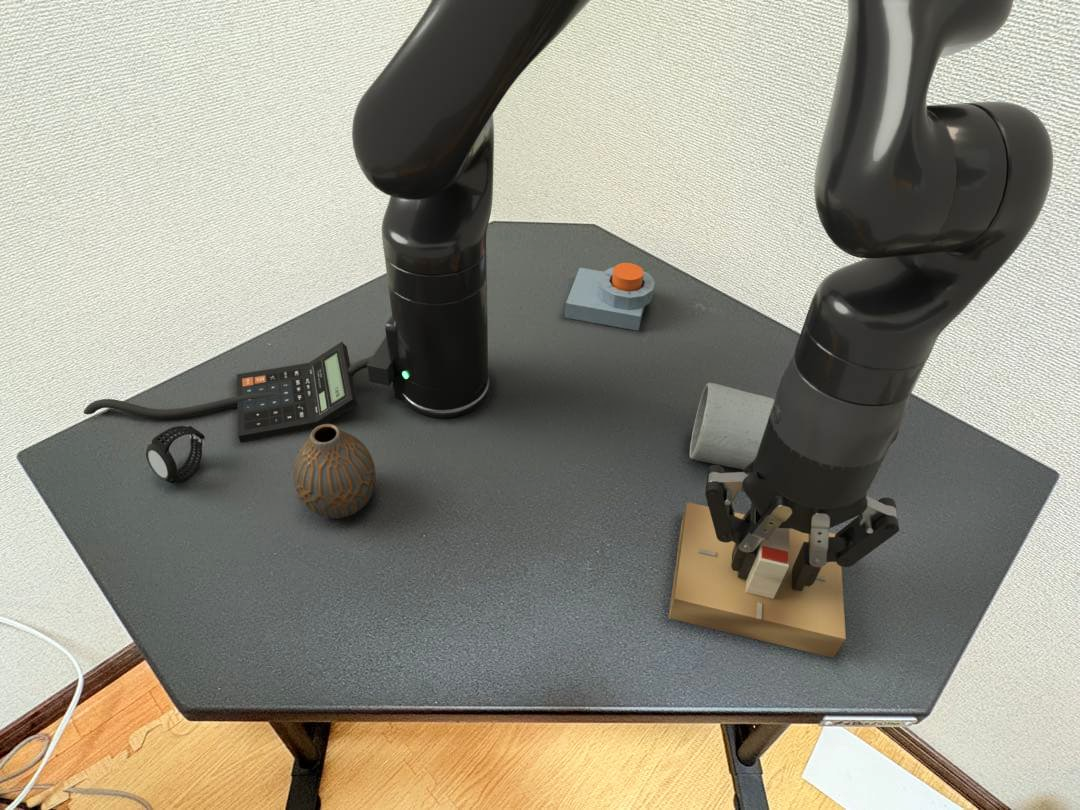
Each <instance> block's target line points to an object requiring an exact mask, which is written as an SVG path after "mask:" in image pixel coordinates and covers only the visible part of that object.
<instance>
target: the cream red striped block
mask: <svg viewBox="0 0 1080 810" xmlns="http://www.w3.org/2000/svg"><path fill="white" fill-rule="evenodd" d="M789 534H790V529H789V528H777V529H776V530H775V532H774V533H773V534H772V535H771V536H770V537H769V539H768V540H764V539H763V541H762V542H761V543H760V544H759V545H758V546H757V548H756V556H755V559H754V561H753V564H752V567H751V569H750V572H749V575H748V577H747V580H746V592H747V593H751V594H755V595H759V596H763V597H767V598H772V599H774V597H775V595H776V592H777V590H778V588H779V586H780V584H781V582H782V580H783V578H784V576H785V574H786V572H787V570H788V568H789Z"/></svg>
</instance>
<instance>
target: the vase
mask: <svg viewBox="0 0 1080 810" xmlns="http://www.w3.org/2000/svg"><path fill="white" fill-rule="evenodd" d="M368 449H369V448H367V447H366V445H365V443H364V442H362V441H361V440H360V439H359V438H358V437H356V436H354V434H351V433H349V432H346V431H344V430H341V429H340V428H339V427H338V426H337V425H335V424H332V423H325V424H323V425H320V426H317V427H316V428H315V429H312V430H311V432H310V434H309V437H308V438H307V439H306V440H305V441H304V443H303V444H302V445H301V446H300V447H299V449H298V451H297V452H296V456H295V459H294V462H293V470H292V477H293V484H294V487H295V490H296V493H297V495H298V497H299V499H300V501H301V502H302V503H303V504H304V506H305V507H307V509H309V510H310V511H311V512H312V513H314V514H315V515H318V516H320V517H323V518H327V519H344V518H347V517H351V516H352V515H354V514H356V513H358V512H359V511H360V510H361V509H363V508H364V507H365V506H366V505H367V503H368V502H369V501H370V499H371V497H372V495H373V493H374V489H375V485H376V478H377V477H376V467H375V463H374V458H373V457H372V454H371V452H370V451H369V450H368Z"/></svg>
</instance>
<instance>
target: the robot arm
mask: <svg viewBox="0 0 1080 810" xmlns="http://www.w3.org/2000/svg"><path fill="white" fill-rule="evenodd" d="M591 1H592V0H431V1H430V2H429V4H428V6H427V8H426V10H425V11H424V13H423V14H422V16H421V17H420V18H419V20H418V21H417V23H416V24H415V26H414V28H413V29H412V31H411V32H410V33H409V35H408V36H407V37H406V39H405V40H404V42H402V44H401V45H400V47H399V48H398V49H397V50H396V52H395V54H394V55H393V56H392V58H391V59H390V60H389V62H388V63H387V64H386V66H385V67H384V68H383V70H382V71H381V72H380V74H379V75H378V76H377V77H376V79H374V81H373V82H372V83H371V85H370V86H368V88H367V89H366V90H365V92H364V93H363V95H362V96H361V97H360V99H359V100H358V102H357V105H356V107H355V111H354V114H353V117H352V124H351V125H352V126H351V138H352V140H351V141H352V148H353V153H354V157H355V159H356V162H357V165H358V166H359V169H360V170H361V172H362V173H363V175H364V177H365V178H366V179H367V181H368V182H369V183H370V184H371V185H372V186H373V187H374V188H376V189H377V190H378V191H380V192H381V193H383V194H384V195H387V196H389V200H388V203H387V207H386V209H385V211H384V214H383V218H382V221H381V240H382V241H381V242H382V249H383V254H384V255H383V256H384V263H385V270H386V271H385V272H386V278H387V285H388V286H387V287H388V294H389V301H390V309H391V315H390V316H389V318H388V320H387V321H386V323H385V326H384V331H385V337H384V338H383V340H382V342H381V343H380V345H379V346H378V347H377V349H376V350H375V352H374V354H373V355H371V356H368V357H366V358H363V359H360V360H358V361H356V362H355V363H353V364H350V367H349V368H348V372H349V374H350V375H351V376H352V377H353V378H354V376H355V374H357V373H358V372H360V371H362V370H364V369H367V373H368V375H367V376H368V380H369V383H371V384H375V385H376V384H377V385H381V386H386V387H391V385H392V389H393V396H394V398H395V399H398V400H402V401H403V402H404V404H406V405H407V406H408V407H409V408H410V409H411V410H413V411H415V412H416V413H418V414H421V415H424V416H427V417H431V418H441V419H444V418H454V417H459V416H463V415H466V414H468V413H470V412H472V411H474V410H476V409H477V408H478V407H479V406H480V405H481V404H483V403H484V402H485V400H486V399H487V397H488V395H489V391H490V375H489V373H490V371H489V335H488V334H489V331H488V330H489V329H488V327H489V325H488V323H489V322H488V275H487V274H488V273H487V272H488V269H487V267H488V266H487V233H488V227H489V223H490V218H491V214H492V208H493V199H494V166H495V165H494V164H495V162H494V161H495V160H494V159H495V121H494V113H495V111H496V110H497V108H498V106H499V105H500V103H501V102H502V100H503V99H504V97H505V96H506V94H507V93H508V92H509V90H510V89H511V87H512V86H513V85H514V83H516V81H517V80H518V78H519V77H520V76H521V75H522V74H523V72H524V71H525V70H526V69H527V68H528V67H529V66H530V64H532V62H533V61H534V60H536V58H538V57H539V55H540V54H542V52H544V50H545V49H546V48H547V47H548V46H549V45H550V44H552V42H553V41H554V40H555V39H556V38H557V37H558V36H559V35H560V34H561V33H562V32H563V31H564V30H565V29H566V28H567V27H568V26H569V25H570V23H571V22H572V21H574V20H575V18H576V17H577V16H578V15H579V14H580V13H581V12H582V11H583V9H584V8H585V7H586V6H587V5H588V4H589V3H590V2H591ZM1013 5H1014V0H847V26H846V32H845V37H844V43H843V48H842V52H841V56H840V57H841V58H840V61H839V65H838V70H837V75H836V79H835V85H834V91H833V95H832V98H831V103H830V107H829V111H828V115H827V120H826V123H825V127H824V131H823V135H822V138H821V142H820V147H819V151H818V154H817V160H816V166H815V172H814V182H813V194H814V195H813V196H814V202H815V208H816V211H817V215H818V218H819V219H818V220H819V222H820V224H821V225H822V228H823V230H824V232H825V233H826V235H827V237H828V238H829V239H830V240H831V242H832V243H833V244H834V245H835V246H836V247H837V248H838V249H840V250H841V251H842V252H844V253H845V254H847V255H849V256H852V257H855V258H859V259H861V260H858V261H855V262H854V263H851V264H848V265H845V266H843V267H840V268H838V269H835V270H834V271H833V272H831V273H830V274H828V275H827V276H826V277H824V279H822V281H821V282H820V283H819V284H818V286H817V289H816V291H815V293H814V295H813V297H812V299H811V301H810V304H809V307H808V310H807V313H806V316H805V319H804V322H803V325H802V328H801V330H800V334H799V337H798V340H797V343H796V347H795V349H794V352H793V355H792V357H791V359H790V361H789V363H788V365H787V366H786V368H785V371H784V372H783V374H782V377H781V379H780V382H779V385H778V388H777V390H776V394H775V397H774V399H775V400H774V403H773V406H772V409H771V412H770V415H769V418H768V422H767V425H766V428H765V431H764V434H763V437H762V440H761V443H760V446H759V449H758V452H757V455H756V458H755V459H754V461H753V462H751V463H750V464H749V465H747V466H746V467H745V469H744V470H743V471H737V472H735V471H734V472H726V471H725V469H724V467H722V465H717V464H712V465H710V466H708V468H707V475H706V483H705V499H706V502H707V506H708V507H709V510H710V514H711V518H712V521H713V525H714V529H715V533H716V536H717V539H718V540H719V541H721V542H725V543H727V542H731V541H733V542H735V545H734V548H733V551H732V563H731V567H732V570H733V571H738V574H737V577H738V578H742V579H746V580H747V577H748V575H749V572H750V569H751V567H752V564H753V561H754V559H755V556H756V548H757V546H758V545H759V544H760V543H761V542H762V541H763V539H764V540H768V539H769V537H770V536H771V535H772V534H773V533H774V532H775V530H776V529H777V528H789V529H794V530H797V531H799V532H802V533H807V534H809V535H808V539H809V541H808V542H803V545H802V547H801V549H800V552H799V554H798V556H797V558H796V561H795V563H794V565H793V568H792V589H793V590H798V591H802V590H803V588H804V586H811V585H812V584H814V582H815V580H816V578H817V576H818V573H819V571H820V569H821V567H822V566H825V565H826V563H827V562H837V564H838V565H839V566H841V567H842V568H850V567H852V566H854V565H855V564H857V563H858V562H859V561H860V560H862V559H863V558H864V557H866V556H867V555H869V554H870V553H872V552H873V551H874V550H876V549H877V548H879V547H880V546H881V545H882V544H884V543H885V542H887V541H888V540H889V539H891V538H892V537H893V536H895V535H896V534H898V533H899V531H900V524H899V518H898V511H897V504H896V500H894V499H893V498H891V497H881V498H879V499H878V500H876V499H874V498H872V497H870V496H868V495H867V494H868V491H869V489H870V488H871V486H872V483H873V482H874V480H875V477H876V476H877V473H878V471H879V469H880V467H881V465H882V463H883V461H884V459H885V457H886V455H887V453H888V452H889V449H890V448H891V445H893V443H894V442H895V441H896V439H897V437H898V435H899V433H900V428H901V426H902V422H903V420H904V418H905V415H906V412H907V409H908V407H909V406H908V405H909V401H910V398H911V396H912V392H913V390H914V388H915V386H916V384H917V382H918V380H919V378H920V376H921V374H922V372H923V369H924V368H925V366H926V364H927V362H928V360H929V358H930V356H931V353H932V351H933V350H934V347H935V345H936V343H937V340H938V339H939V337H940V335H941V334H942V333H943V331H944V330H945V329H946V328H947V327H948V326H949V325H950V324H951V323H952V322H953V321H954V320H955V319H956V318H957V317H958V316H959V315H960V314H962V312H963V311H964V310H966V308H968V306H969V305H970V304H971V303H972V301H973V300H975V298H976V297H977V295H979V293H980V292H981V291H982V290H983V289H984V288H985V286H986V285H987V284H989V282H990V281H991V280H992V278H994V276H995V275H996V274H997V273H998V272H999V271H1000V269H1002V267H1003V266H1004V265H1005V264H1006V263H1007V262H1008V260H1009V259H1010V258H1011V257H1012V256H1013V254H1014V253H1015V252H1016V251H1017V249H1018V248H1019V247H1020V246H1021V244H1022V243H1023V241H1024V240H1025V239H1026V238H1027V236H1028V234H1029V233H1030V232H1031V230H1032V228H1033V227H1034V226H1035V224H1036V221H1037V220H1038V218H1039V217H1040V215H1041V212H1042V210H1043V208H1044V205H1045V203H1046V201H1047V198H1048V194H1049V190H1050V187H1051V184H1052V178H1053V170H1054V152H1053V151H1054V150H1053V144H1052V139H1051V136H1050V133H1049V131H1048V129H1047V128H1046V125H1045V124H1044V123H1043V121H1042V120H1041V119H1040V117H1039V116H1038V115H1037V114H1036V113H1034V112H1033V111H1031V110H1030V109H1028V108H1026V107H1024V106H1022V105H1019V104H1016V103H1013V102H1005V101H1003V102H1002V101H977V102H976V101H975V102H964V103H962V102H960V103H946V104H933V105H932V104H930V105H927V99H928V92H929V87H930V85H931V81H932V77H933V75H934V72H935V70H936V67H937V64H938V62H939V60H940V58H945V57H948V56H951V55H954V54H957V53H960V52H963V51H965V50H968V49H971V48H973V47H975V46H978V45H979V44H982V43H983V42H985V41H987V40H989V38H991V37H993V36H994V35H995V34H996V33H997V32H999V30H1000V29H1001V28H1002V27H1003V26H1004V25H1005V23H1006V22H1007V20H1008V18H1009V16H1010V14H1011V12H1012V8H1013ZM280 394H281V393H277V392H263V393H254V394H248V395H242V396H237V395H236V396H233V397H228V398H224V399H220V400H216V401H211V402H207V403H203V404H198V405H192V406H186V407H178V408H168V409H166V408H165V409H161V408H152V407H151V408H150V407H146V406H141V405H137V404H135V403H130V402H126V401H123V400H119V399H113V398H102V399H97V400H94V401H92V402H90V403H89V404H88V405H87V406H86V407H85V409H84V410H83V414H84V415H92V414H94V413H96V412H97V411H98V410H99V411H100V410H101V409H113V410H117V411H118V410H119V411H121V412H125V413H130V414H132V415H136V416H140V417H144V418H145V417H146V418H151V419H178V418H187V417H192V416H198V415H202V414H207V413H211V412H215V411H220V410H224V409H228V408H232V407H236V406H237V402H239V401H244V400H250V399H257V398H265V397H271V396H277V395H280ZM237 407H238V406H237ZM740 491H743V492H744V493H745V494H746V496H747V498H748V499H749V501H750V503H751V504H750V508H749V509H748V510H747V512H746V513H745V516H744V517H743V518H742V519H740V518H738V517H736V516H734V515H735V513H734V512H735V509H734V505H733V501H735V500H736V499H737V495H738V493H739V492H740ZM852 519H853V520H852ZM850 520H851V521H850ZM847 521H850V522H849V523H848V524H846V525H845V526H843V528H841V529H840V530H839V531H837V532H836V533H835V534H836V535H835V537H829V533H830V529H832V528H834V527H836V526H838V525H841V524H843V523H845V522H847Z"/></svg>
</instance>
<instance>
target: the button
mask: <svg viewBox="0 0 1080 810" xmlns="http://www.w3.org/2000/svg"><path fill="white" fill-rule="evenodd" d="M613 267H614V269H613V276H612V285H613V286H614V287H615V288H617V289H618V290H623V291H628V292H631V291H637V290H639V289H640V288H641V286H642V281H643V274H644V272H643V271H644V269H643V268H642V267H641V266H639V265H638V264H635V263H631V262H621V263H618V264H616V265H615V266H613Z"/></svg>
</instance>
